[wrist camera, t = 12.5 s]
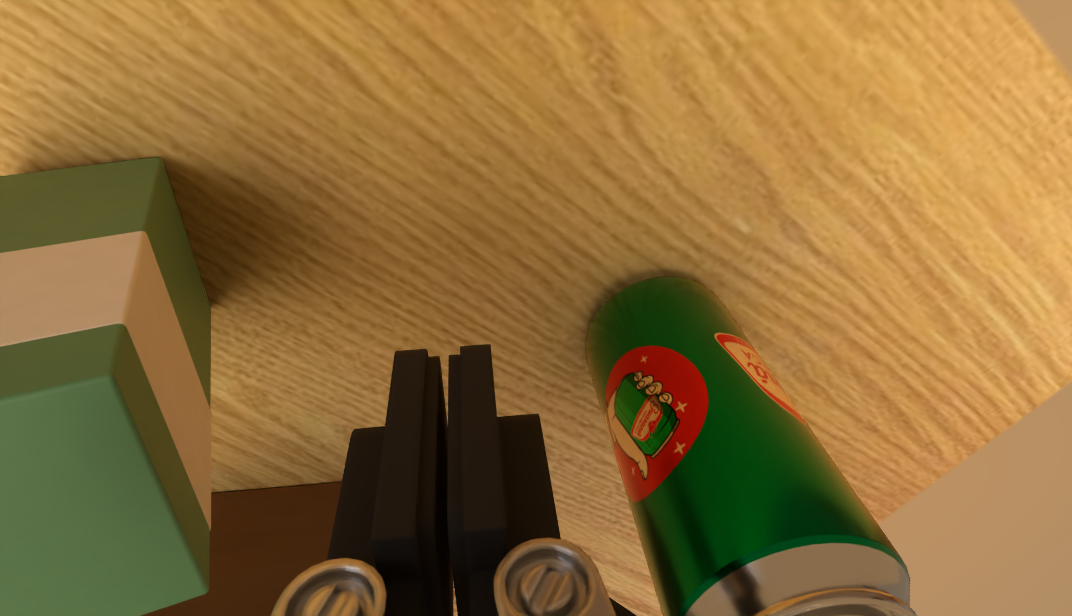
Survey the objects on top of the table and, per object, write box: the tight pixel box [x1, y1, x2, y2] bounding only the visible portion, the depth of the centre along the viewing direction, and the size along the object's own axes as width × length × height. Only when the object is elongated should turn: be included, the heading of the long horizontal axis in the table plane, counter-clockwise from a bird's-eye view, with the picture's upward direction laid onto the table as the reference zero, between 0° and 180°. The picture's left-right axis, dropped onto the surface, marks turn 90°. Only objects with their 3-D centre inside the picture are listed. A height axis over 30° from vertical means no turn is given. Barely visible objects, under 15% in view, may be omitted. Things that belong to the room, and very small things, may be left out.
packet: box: [0, 157, 211, 616], centre depth 14 cm, size 11×5×4 cm
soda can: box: [585, 277, 917, 616], centre depth 17 cm, size 5×5×12 cm
